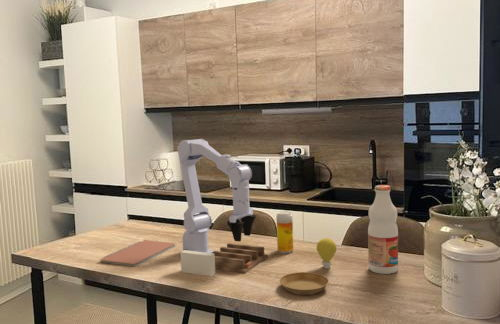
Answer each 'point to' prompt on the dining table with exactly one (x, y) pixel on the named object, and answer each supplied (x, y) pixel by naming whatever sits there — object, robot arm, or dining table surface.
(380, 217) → the fruit juice
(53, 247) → the dining table surface
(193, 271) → the block
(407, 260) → the dining table surface
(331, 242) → the light bulb
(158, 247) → the notebook
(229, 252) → the rack
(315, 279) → the plant saucer
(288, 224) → the beer can
